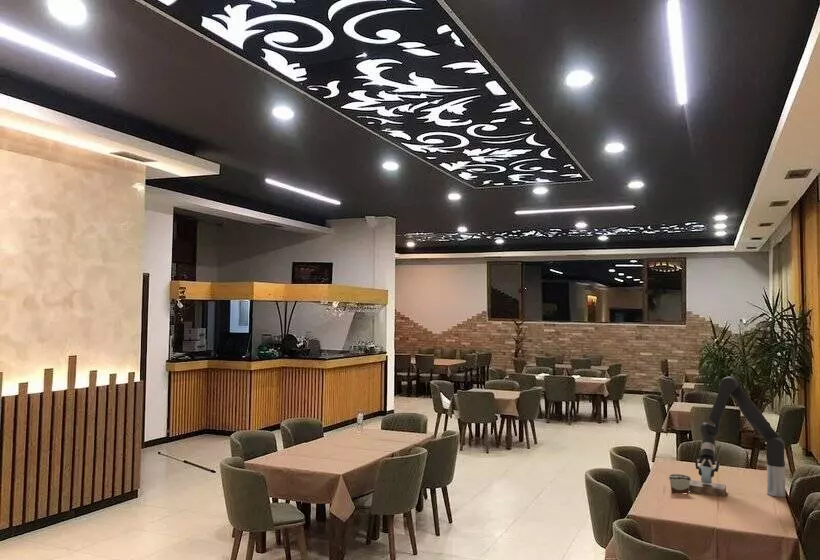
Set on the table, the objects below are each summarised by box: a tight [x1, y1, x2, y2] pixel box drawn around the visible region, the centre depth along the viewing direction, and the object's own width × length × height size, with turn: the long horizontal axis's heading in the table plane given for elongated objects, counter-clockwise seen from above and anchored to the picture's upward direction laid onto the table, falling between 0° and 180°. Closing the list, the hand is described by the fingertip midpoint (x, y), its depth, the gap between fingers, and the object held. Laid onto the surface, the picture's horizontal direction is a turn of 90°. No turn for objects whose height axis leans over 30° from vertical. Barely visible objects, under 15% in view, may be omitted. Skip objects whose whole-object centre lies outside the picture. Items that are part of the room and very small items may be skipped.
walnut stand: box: [689, 479, 727, 498], centre depth 380 cm, size 20×14×4 cm
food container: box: [668, 473, 692, 495], centre depth 376 cm, size 12×6×10 cm, turn 84°
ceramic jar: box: [700, 466, 713, 484], centre depth 380 cm, size 6×6×9 cm
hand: (706, 475), depth 379 cm, fingers closed on ceramic jar, 5 cm apart
